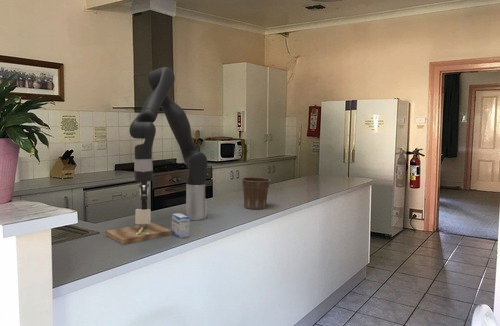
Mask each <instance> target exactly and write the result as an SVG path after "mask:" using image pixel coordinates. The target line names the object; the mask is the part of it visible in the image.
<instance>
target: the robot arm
mask: <svg viewBox="0 0 500 326" xmlns="http://www.w3.org/2000/svg"><path fill="white" fill-rule="evenodd" d="M175 79H176V77H175V73H174V71H173V70H172V69H171V68H170V67H168V66H164V67H163V66H162V67H159V68H157V69H154V70H151V71H149V73H148V74H147V80H148V84H149V86H150V89H151V90H152V92H151V93H150V95H149V96H148V97H147V98H146V100H145V101H144V103H143V105H142V108H141V110H140V112H139V114H137V116H136V117H135V118H134V119H133V121H132V122H131V124H130V125H129V135H130V137H132V139H137V140H139V139H141V140H143V139H144V141H143V143H141V144H137V145H136V144H135V146H134V163H133V164H134V168H133V169H134V181H135V182H137V183H138V182H140V184H139V185H138V189H139V196H140V201H141V209H142V210H146V209H148V199H149V198H148V196H149V191H150V184H148V182H151V181H153V180H154V173H153V172H154V170H153V169H154V168H153V167H154V165H153V150H152V149H153V144H154V140H155V136H156V132H157V131H156V130H157V129H156V125H155V124H154V123H155V121H156V119H157V118H158V115H159V112H160V108H161V109H162V111H163V113H164V115H165V118H166V121H167V124H168V125H169V128H170V130H171V132H172V134H173V136H174V139H175V141H176V142H177V144H178V146H179V148H180V149H179V150H180V152H181V155H182V158H183V161H184V163H185V166H186V167H187V168H188V176H187V178H186V180H185V181H186V185H185V186H186V189H185V191H186V193H185V194H186V195H185V197H186V198H185V201H186V202H185V205H186V206H185V210H186V211H185V212H186V213H185V215H186V216H188V217H189V221H199V220H204V219H206V218H207V216H208V215H207V212H208V211H207V209H208V208H207V207H208V206H207V205H208V202H207V198H206V180H207V176H208V159H207V156H206V154H205V153H203V152H201V151H199V150H198V149H197V147H196V145H195V143H194V140H193V136H192V129H191V128H192V127H191V124H190V121H189V118H188V116H187V113H186V112H185V110H184V109H183V107H181V106H180V105H178V104H177V103H176V102H175V101H174V100H173V99H172V98H171V97H170V95H169V92H170V90H171V89H172V87H173V86H174V84H175Z"/></svg>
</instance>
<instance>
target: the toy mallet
mask: <svg viewBox="0 0 500 326" xmlns="http://www.w3.org/2000/svg"><path fill="white" fill-rule="evenodd" d="M151 213H152V212H151V209H150V208H147V209H146V210H142V208H135V213H134V214H135V220H134V222H135V225H139V228H140V230H139V232H138V234H140V233H141V231H142V230H143V229H146V228H147V224H150V223H152V221H151Z"/></svg>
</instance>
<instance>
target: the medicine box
mask: <svg viewBox="0 0 500 326" xmlns="http://www.w3.org/2000/svg"><path fill="white" fill-rule="evenodd" d="M171 230H172V235H174V237H175V236H176V237H177V238H180V239H181V238H188V237H190V220H189V217H188V216H186V214H183V213H181V212H178V213H172V214H171Z"/></svg>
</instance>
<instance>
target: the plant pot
mask: <svg viewBox="0 0 500 326" xmlns="http://www.w3.org/2000/svg"><path fill="white" fill-rule="evenodd" d="M241 181H242V187H243V188H242V189H243V207H244V208H245V209H248V210H257V209H258V210H264V209H266V208H267V200H268V199H267V198H268V192H269V188H270V182H271V181H272V180H271V179H270V178H266V177H258V176H257V177H252V176H251V177H243V178H241Z"/></svg>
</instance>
